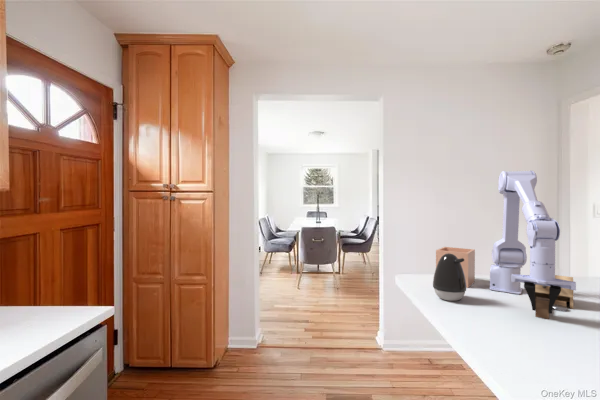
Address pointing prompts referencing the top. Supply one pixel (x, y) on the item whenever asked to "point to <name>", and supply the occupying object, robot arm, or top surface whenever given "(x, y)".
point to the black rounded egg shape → (449, 278)
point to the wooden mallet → (545, 307)
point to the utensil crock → (467, 264)
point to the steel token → (559, 307)
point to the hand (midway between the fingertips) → (542, 310)
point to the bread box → (564, 294)
